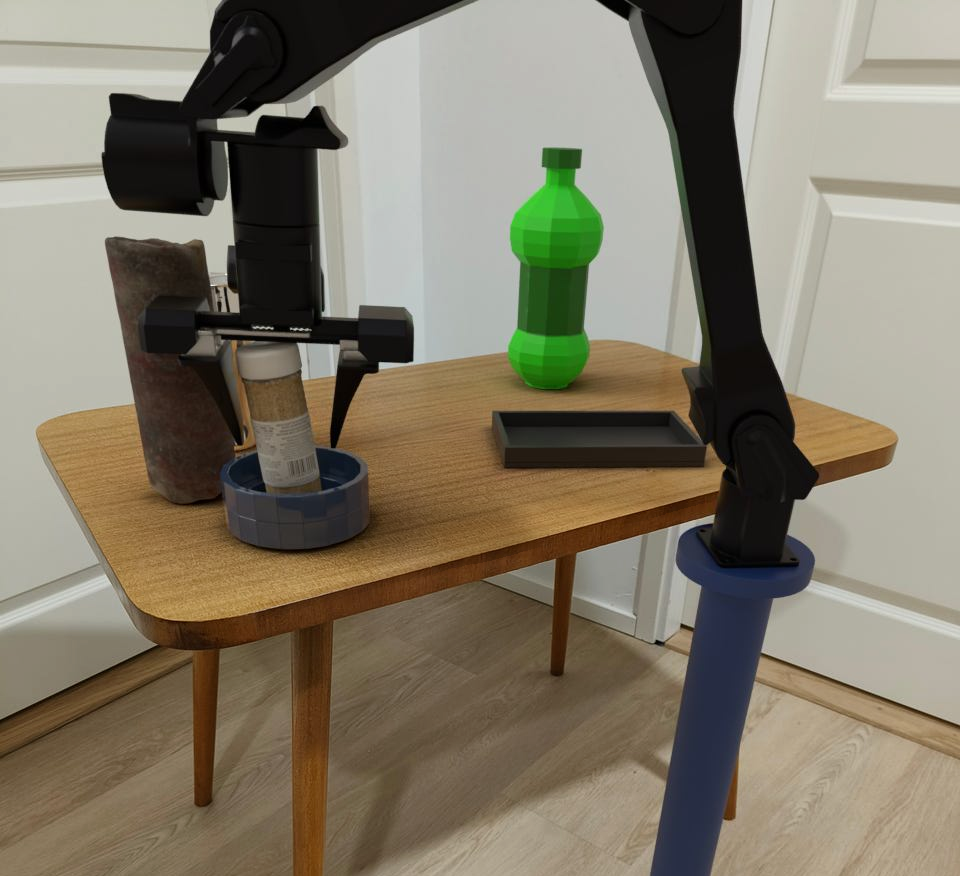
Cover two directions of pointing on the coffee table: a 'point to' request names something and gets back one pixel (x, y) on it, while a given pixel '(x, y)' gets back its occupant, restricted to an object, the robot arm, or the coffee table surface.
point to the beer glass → (230, 303)
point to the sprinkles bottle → (279, 416)
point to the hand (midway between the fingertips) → (287, 445)
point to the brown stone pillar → (169, 371)
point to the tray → (595, 439)
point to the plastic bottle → (554, 274)
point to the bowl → (297, 503)
